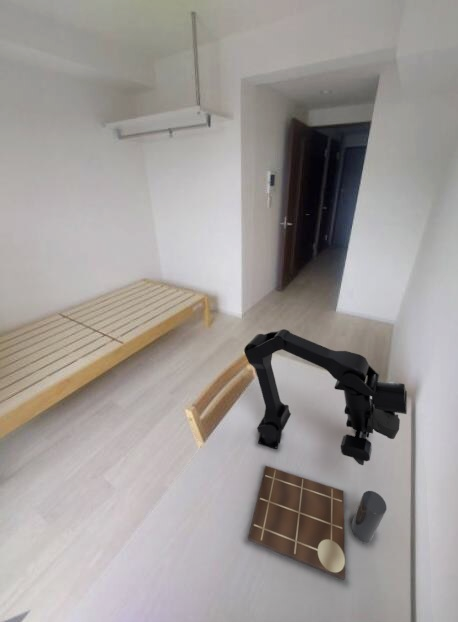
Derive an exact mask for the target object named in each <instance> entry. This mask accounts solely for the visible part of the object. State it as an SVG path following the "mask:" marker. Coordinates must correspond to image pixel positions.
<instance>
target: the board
mask: <svg viewBox="0 0 458 622" xmlns="http://www.w3.org/2000/svg"><path fill="white" fill-rule="evenodd" d="M259 488H260V489H259V493H258V497H257V501H256V506H255V509H254V514H253V518H252V522H251V527H250V531H249V535H248V541H249V542H250V543H253V544H256V545H259V546H261V547H263V548H266V549H268V550H270V551H273V552H275V553H277V554H280V555H283V556H285V557H287V558H289V559H292V560H294V561H296V562H298V563H299V562H300V563H302V564H304V565H307V566H309V567H310V568H311V567H312V568H313V569H316V570H318V571H321V572H323V573H326V574H328V575H331V576H333V577H335V578H337V579H339V580H342V581H345V578H346V555H345V553H346V550H345V549H346V548H345V505H344V503H345V502H344V501H345V499H344V497H345V496H344V494H345V493H344V490H342V489H339V488H335V487H333V486H329V485H326V484H324V483H320V482H318V481H315V480H312V479H308V478H305V477H303V476H299V475H297V474H296V475H295V474H292V473H289V472H287V471H284V470H280V469H277V468H274V467H271V466H268V465H265V467H264V471H263V475H262V481H261V485H260V487H259Z"/></svg>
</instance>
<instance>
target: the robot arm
mask: <svg viewBox="0 0 458 622" xmlns="http://www.w3.org/2000/svg"><path fill="white" fill-rule="evenodd" d="M279 351H284V352H286V353H289V354H291V355H294V356H296V357H298V358H300V359H303V360H304V361H307V362H309V363H311V364H313V365H316V366H318V367H320V368H322V369H324V370H325V371H326V372H328V373H329V374H330V375H331V377H332V378H333V379H334V380H336V382H335V385H334V387H333V388H334V390H338V391H343V394H344V400H345V406H344V411H343V412H344V415H347V419H346V421H345V422H346V423H345V424H346V427H347V428H351V429H352V430H354V431H355V435H351V434H347V433H346V434H345V435H343V436H342V440H341V443H340V453H341V454H342V456H346V457H350V458H352V459H353V460H354V461H355V462H356V463H357V464H358V465H360V466H364V465H365V462H369V461H371V456H372V455H371V454H372V450H373V449H372V448H373V447H372V442H371V441H369V439H368V438H369V437H370V434H374V432H376V433H378V434H381V435H382V436H385V437H386V438H387V439H390V440H394V439H395V438H396V436H397V435H398V432H399V431H400V424H401V419H400V418H399V414H402V415H403V414H404V415H407V414H408V391H407V390H406V384H405V383H401V382H385V381H379V378H380V374H379V373H378V372H377V371H376V370H375V369H374V368H373V367H372V366H371V365H370V364H369V362H368V360H367V358H366V357H365V356H364V355H361V354H359V353H356V352H352V351H347V350H334V349H330V348H328V347H325V346H323V345H321V344H318V343H316V342H314V341H311V340H309V339H306V338H303V337H301V336H299V335H297V334H295V333H292V332H291V331H290V330H288V329H285V328H283V329H280V330H278V331H269V332H267V333H258V334H256V335H255V336H254V337H253V338H252V339H251V340H250V341H249V342H248V343H247V344H246V345H245V347H244V349H243V352H244V355H245V358H246V360H247V362H248V364H249V365H250V366H252V367H253V368H254V370H255V373H256V377H257V381H258V383H259V388H260V391H261V395H262V398H263V402H264V405H265V408H264V415H263V418H262V419H261V420H260V422H259V424H258V425H257V427H256V428H257V432H258V433H259V437H258V441H257V443H258V445H261V446H264V447H267V448H271V449H274V450H278V449H279V445H280V444H281V441H282V434H283V431H284V429H285V427H286V425H287V423H288V422H289V419H290V417H291V415H292V413H291V411H290V407H289V405H288V404H284V403H283V402H282V401H281V398H280V394H279V389H278V386H277V382H276V378H275V377H276V376H275V374H274V370H273V366H272V359H273V354H274V353H275V352H279ZM396 413H397V414H396ZM369 433H370V434H369Z"/></svg>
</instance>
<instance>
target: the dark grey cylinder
mask: <svg viewBox="0 0 458 622" xmlns="http://www.w3.org/2000/svg"><path fill="white" fill-rule="evenodd" d="M387 509H388V507H387V503H386V501H385V499H384V498H383V497H382V495H381V494H379V493H377V492H376V491H374V490H366V491H364V492H363V494H362V496H361V498H360V501H359V503H358V506H357V509H356V511H355V513H354V516H353V519H352V520H351V521H352V522H351V525H350V526H351V531H352V534H353V535H354V536H355V537H356V538H357V539H358V540H359V541H361V542H363V543H369V542H371V541H372V540H373V538H374V536H375V534H376V532H377V530H378V528H379V526H380V524H381V522H382V520H383V518H384V516H385V514H386V512H387Z"/></svg>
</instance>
